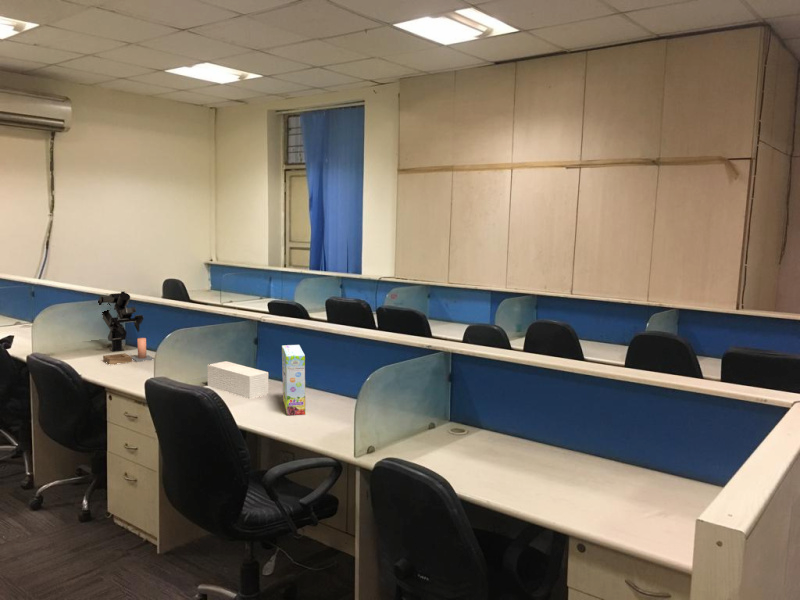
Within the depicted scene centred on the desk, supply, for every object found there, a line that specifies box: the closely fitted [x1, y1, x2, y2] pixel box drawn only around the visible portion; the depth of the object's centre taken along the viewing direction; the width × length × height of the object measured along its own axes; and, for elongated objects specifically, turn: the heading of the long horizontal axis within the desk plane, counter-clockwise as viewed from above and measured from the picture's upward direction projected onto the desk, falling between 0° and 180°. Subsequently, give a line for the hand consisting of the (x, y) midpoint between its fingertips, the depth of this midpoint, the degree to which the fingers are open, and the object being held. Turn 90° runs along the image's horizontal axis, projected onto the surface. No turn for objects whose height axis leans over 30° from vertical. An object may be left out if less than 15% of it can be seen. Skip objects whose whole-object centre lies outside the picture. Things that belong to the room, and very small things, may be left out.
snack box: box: [281, 344, 306, 416], centre depth 271 cm, size 22×9×26 cm, turn 15°
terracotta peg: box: [136, 337, 148, 359], centre depth 355 cm, size 4×4×11 cm
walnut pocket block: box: [102, 352, 133, 365], centre depth 348 cm, size 12×12×3 cm
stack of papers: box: [207, 361, 269, 400], centre depth 297 cm, size 32×11×11 cm, turn 51°
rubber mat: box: [131, 354, 155, 362], centre depth 356 cm, size 10×10×1 cm
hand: (131, 332), depth 362 cm, fingers open, 9 cm apart
